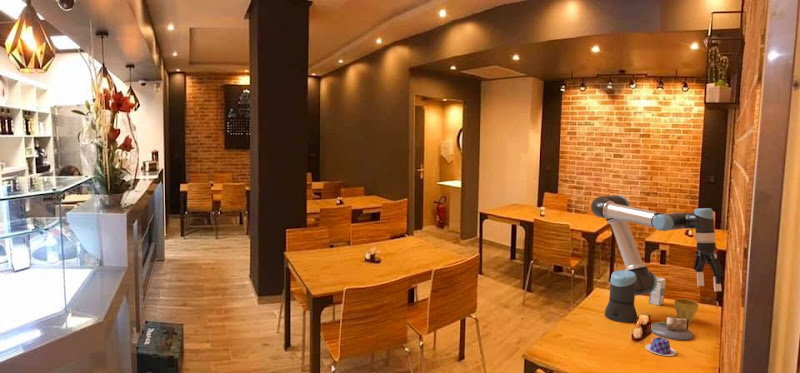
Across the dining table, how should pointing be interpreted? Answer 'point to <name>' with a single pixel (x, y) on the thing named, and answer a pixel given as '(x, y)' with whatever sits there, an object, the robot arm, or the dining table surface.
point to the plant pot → (685, 308)
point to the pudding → (660, 347)
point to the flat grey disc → (671, 332)
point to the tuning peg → (676, 323)
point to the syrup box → (658, 292)
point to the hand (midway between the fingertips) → (709, 288)
